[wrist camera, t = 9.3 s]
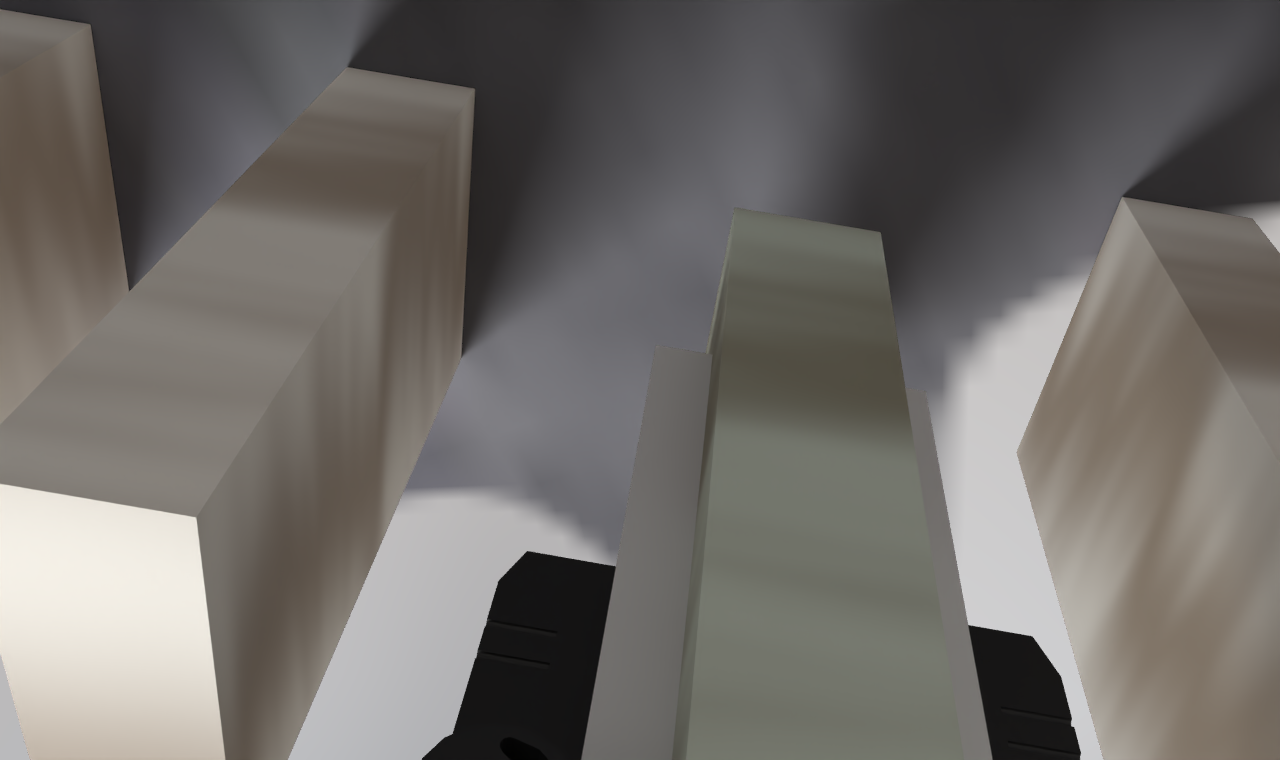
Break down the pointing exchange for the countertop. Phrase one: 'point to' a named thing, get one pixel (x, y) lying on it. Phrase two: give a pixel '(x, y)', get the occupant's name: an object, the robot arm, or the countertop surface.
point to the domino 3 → (810, 518)
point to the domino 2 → (238, 441)
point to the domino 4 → (1168, 486)
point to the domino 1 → (52, 201)
